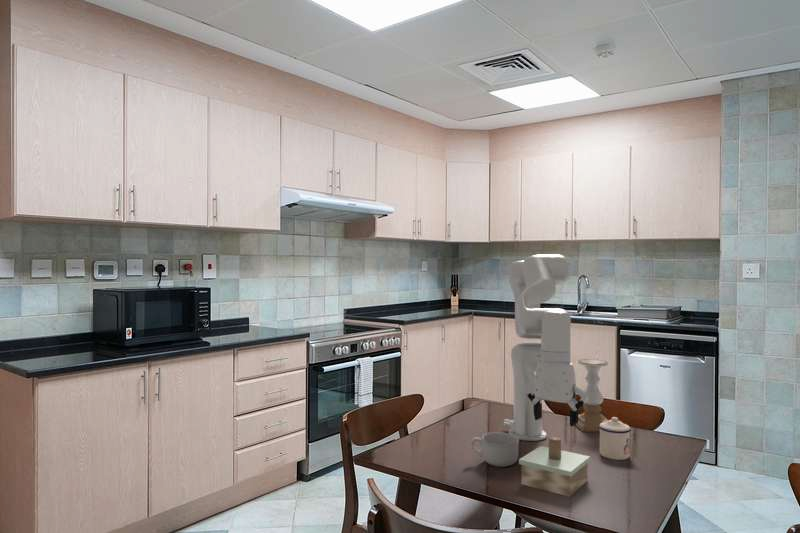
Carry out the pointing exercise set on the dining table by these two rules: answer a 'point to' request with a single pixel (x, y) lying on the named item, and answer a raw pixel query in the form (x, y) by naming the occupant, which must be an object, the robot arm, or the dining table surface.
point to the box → (554, 480)
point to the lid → (555, 459)
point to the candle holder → (592, 397)
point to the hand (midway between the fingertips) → (555, 422)
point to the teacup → (498, 448)
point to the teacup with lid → (614, 439)
